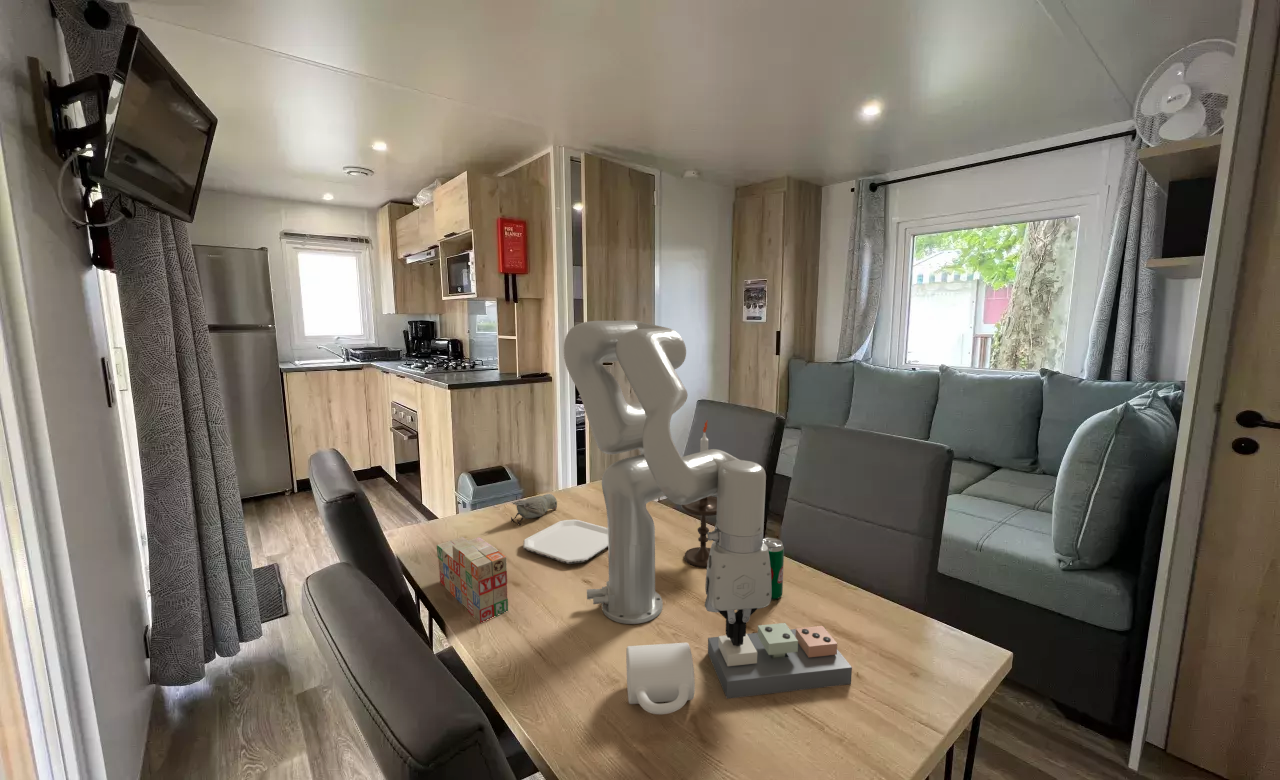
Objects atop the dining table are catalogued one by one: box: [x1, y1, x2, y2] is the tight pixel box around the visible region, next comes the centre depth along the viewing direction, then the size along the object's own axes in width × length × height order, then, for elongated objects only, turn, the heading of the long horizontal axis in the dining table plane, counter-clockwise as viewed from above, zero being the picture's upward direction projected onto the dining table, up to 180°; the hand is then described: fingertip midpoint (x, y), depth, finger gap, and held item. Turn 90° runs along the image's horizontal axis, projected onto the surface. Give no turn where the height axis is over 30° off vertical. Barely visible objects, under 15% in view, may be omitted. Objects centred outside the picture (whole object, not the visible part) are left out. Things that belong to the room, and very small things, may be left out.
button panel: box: [707, 628, 853, 699], centre depth 87 cm, size 21×11×3 cm, turn 98°
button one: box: [718, 632, 757, 666], centre depth 86 cm, size 5×5×5 cm
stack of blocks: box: [436, 536, 509, 624], centre depth 109 cm, size 21×6×12 cm, turn 42°
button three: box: [795, 625, 838, 657], centre depth 88 cm, size 5×5×5 cm
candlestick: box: [680, 419, 717, 569], centre depth 123 cm, size 11×11×35 cm
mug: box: [625, 642, 696, 715], centre depth 79 cm, size 12×10×8 cm
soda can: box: [763, 537, 785, 601], centre depth 109 cm, size 5×5×12 cm
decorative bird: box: [510, 493, 558, 527], centre depth 152 cm, size 5×16×7 cm, turn 141°
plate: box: [523, 518, 608, 565], centre depth 134 cm, size 21×21×2 cm
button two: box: [757, 622, 798, 659], centre depth 86 cm, size 5×5×5 cm
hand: (735, 639), depth 86 cm, fingers closed
